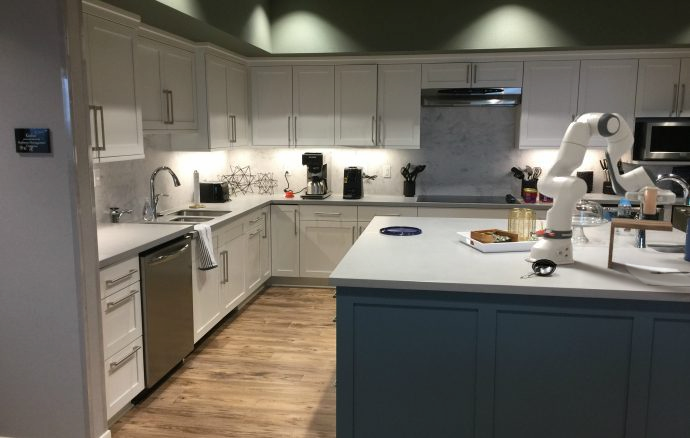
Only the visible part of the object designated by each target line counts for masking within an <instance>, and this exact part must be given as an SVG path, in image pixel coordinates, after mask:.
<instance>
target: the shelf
mask: <svg viewBox="0 0 690 438" xmlns="http://www.w3.org/2000/svg"><path fill="white" fill-rule="evenodd" d="M615 228H616V229H617V228H618V229H629V230H645V231H655V232H656V231H660V232H668V233H669V232H670V233H672V232H673V231H674V227H673V224H672V222H671V221H667V220H666V221H665V220H651V219H650V220H648V219H635V218H634V219H632V218H622V217H621V218H618V217H611V221H610V230H609V231H610V233H609V246H608V247H609V248H608V258H607V259H608V260H607V269H612V268H613V267H612V265H613V264H612V263H613V254H614V243H615V242H614V239H615V231H616V230H615Z"/></svg>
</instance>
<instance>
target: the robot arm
mask: <svg viewBox="0 0 690 438" xmlns="http://www.w3.org/2000/svg"><path fill="white" fill-rule="evenodd" d="M590 138H605V141H606V143H607V149H606V150H605V151H604V156H605V160H606V165H607V169H608V173H609V175H610V179H611V186H612V190H613V192H614V193H615V195H617V196H621V197H625V201H629V202H630V201H631V202H632V201H634V202H640V203H642V204H643V205H644V198H645V197H644V196H645V186H654V187H657V183H658V181H657V179H656V176H655V175H654V173H653V171H652V170H651V169H650V168H649V167H647V166H645V165H644V166H643V165H641V166H639V167H637V168H635V169H633V170H630V171H628V172H625V173H624V174H620V171H619V168H618V162H619V161H620V160H621V159H622V158H623V156H624V155H626V154H627V153H628V152H630V150H631V149H632V147H633V145H634V143H635V138H634V135H633V132H632V130H631V128H630V127H629V125H628V123H627V122H626V120H625V119H624V117H622V115H621V114H619V113H617V112H616V113H615V112H614V113H612V112H611V113H610V112H606V113H605V112H604V113H603V112H584V113H580V114H578V115H576V117H575V118H574V120H573V121H572V122H571V123H570V124H569V126H568V127H567V129H566V130H565V133H564V136H563V137H562V141H561V143H560V147H559V150H558V153H557V156H556V158H555V160H554V162H553V164H552V165H551V166H550V168H549V169H548V171H546V172H545V173H544V174H543V175H541V176H540V177H539V178H538V180H537V184H536V187H537V191H538V193H540V194H542V195H543V196H545V197H547V198H551V199H555V200H554V203H553V205H552V206H551V208H549V209H548V210H547V212H546V219H545V227H544V229H543V230H542V229H538V231H539V234H542V236H543V237H542V238H541V239H540V240H539V241H536V242H535V243H534V244H533V245H532V246H531V249H530V253H529V256H525V257H524V260H525V261H526V262H529V263H532V264H534V263H533V262H534V261H536V260H539V259H548V260H552V261H554V262H555V263H556V264H557V265H565V264H566V265H567V264H575V260H574V252H573V250H574V248H573V243H572V237H573V229H572V227H573V225H572V224H573V216H574V211H575V209H576V206H577V204H578V203H579V202H580V201H581V200H582V199H583V198H585V196H586V194H587V191H588V185H587V183H586V181H585V180H584V179H582V178H580V177H578V176H575V175H572V174H573V173H574V172H575V170H577V169H578V168H580V167H581V166H582V165H583V162H584V158H585V156H586V153H587V150H588V147H589V142H590ZM676 197H677V195H676V193H674V192H672V190H670V189H664V188H659V187H658V193H657V203H656V206H657V205H670V204H676V199H677V198H676Z"/></svg>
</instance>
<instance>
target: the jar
mask: <svg viewBox="0 0 690 438" xmlns="http://www.w3.org/2000/svg"><path fill="white" fill-rule="evenodd" d="M658 188H659V187H658V186H655V187H654V186H645V196H644V197H645V198H644V204H643V208H642V214H644V215H656V212H657V205H656V203H657V193H658Z"/></svg>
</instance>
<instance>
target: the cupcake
mask: <svg viewBox="0 0 690 438" xmlns="http://www.w3.org/2000/svg"><path fill="white" fill-rule="evenodd" d="M540 227H541V230H544V227H543V221H542V220H541V222H540ZM535 237H543V236H542V234H539V230H537V231H536V232H535Z"/></svg>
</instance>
